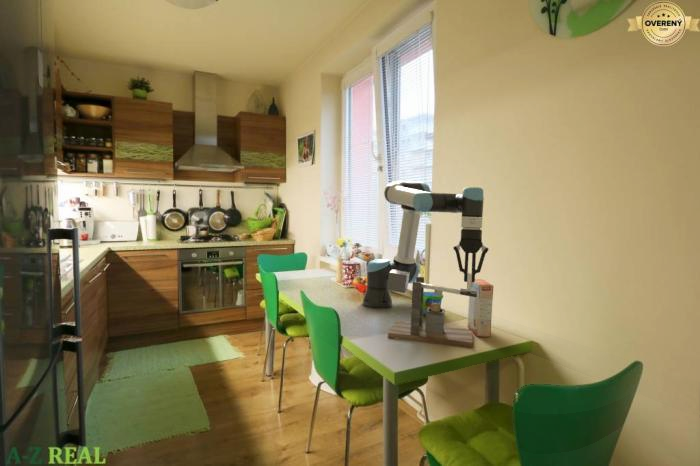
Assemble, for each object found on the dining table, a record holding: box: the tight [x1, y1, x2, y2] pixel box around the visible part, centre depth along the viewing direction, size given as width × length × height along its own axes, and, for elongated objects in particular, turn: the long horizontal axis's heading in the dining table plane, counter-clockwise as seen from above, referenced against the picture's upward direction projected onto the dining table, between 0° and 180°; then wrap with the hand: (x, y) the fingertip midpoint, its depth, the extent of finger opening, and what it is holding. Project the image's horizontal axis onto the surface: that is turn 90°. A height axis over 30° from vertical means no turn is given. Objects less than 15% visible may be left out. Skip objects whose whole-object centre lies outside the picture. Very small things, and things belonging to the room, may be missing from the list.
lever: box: [387, 270, 477, 298], centre depth 152 cm, size 9×34×7 cm, turn 74°
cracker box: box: [467, 278, 494, 338], centre depth 159 cm, size 14×6×21 cm, turn 177°
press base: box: [387, 276, 473, 349], centre depth 152 cm, size 16×31×22 cm, turn 74°
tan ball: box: [430, 303, 442, 312], centre depth 152 cm, size 4×4×4 cm
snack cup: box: [423, 291, 444, 316], centre depth 184 cm, size 16×10×10 cm
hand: (468, 290), depth 148 cm, fingers closed
